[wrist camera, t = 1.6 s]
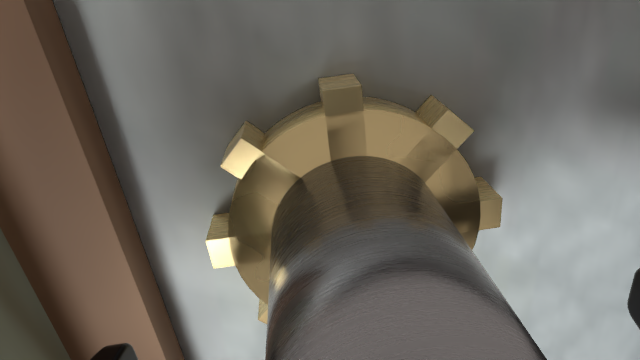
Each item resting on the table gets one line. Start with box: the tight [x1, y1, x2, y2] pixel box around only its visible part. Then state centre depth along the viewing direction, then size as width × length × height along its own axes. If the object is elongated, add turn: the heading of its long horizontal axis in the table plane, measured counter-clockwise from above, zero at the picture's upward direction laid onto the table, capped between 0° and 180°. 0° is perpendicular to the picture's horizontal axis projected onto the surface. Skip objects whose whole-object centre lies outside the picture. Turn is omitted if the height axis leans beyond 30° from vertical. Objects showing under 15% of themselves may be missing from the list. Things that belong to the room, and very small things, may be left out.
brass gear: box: [206, 74, 547, 360], centre depth 8 cm, size 7×7×7 cm
